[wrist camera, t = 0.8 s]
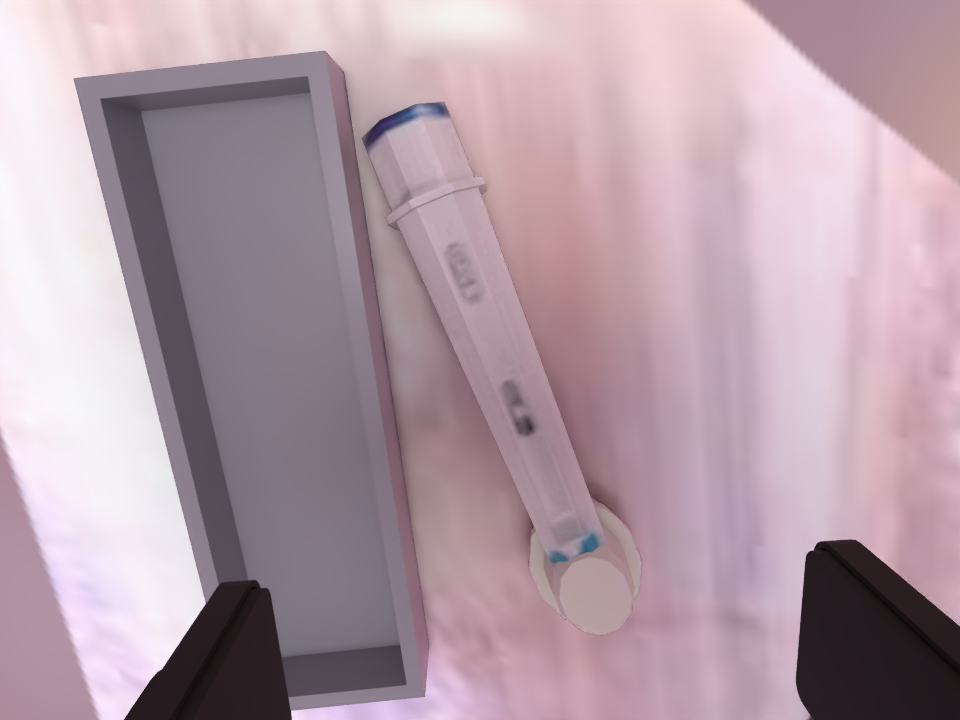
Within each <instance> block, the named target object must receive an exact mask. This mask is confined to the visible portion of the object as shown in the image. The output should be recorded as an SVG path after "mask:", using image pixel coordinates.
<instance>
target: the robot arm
mask: <svg viewBox="0 0 960 720" xmlns="http://www.w3.org/2000/svg"><path fill="white" fill-rule="evenodd" d="M796 686H797V690H798V694H799V697H800V699H801V701H802V703H803V705H804V706H805V708H806V709H807V711H808V712H809V714H810V715H811V717H812V718H813V720H960V626H959V625H957V624H956V623H955V622H954V621H953V620H951V619H950V618H949V617H948V616H947V615H945V614H944V613H943V612H942V611H941V610H940V609H938V608H937V607H936V606H935V605H934V604H932V603H931V602H930V601H929V600H928V599H926V598H925V597H924V596H923V595H922V594H920V593H919V592H918V591H917V590H916V589H915V588H913V587H912V586H911V585H910V584H909V583H907V582H906V581H905V580H904V579H903V578H901V577H900V576H899V575H898V574H897V573H896V572H894V571H893V570H892V569H891V568H890V567H888V566H887V565H886V564H885V563H884V562H882V561H881V560H880V559H879V558H878V557H876V556H875V555H874V554H873V553H872V552H871V551H869V550H868V549H867V548H866V547H865V546H863V545H862V544H861V543H860V542H858V541H856V540H836V541H821V542H819V543H817V544H816V546H815V548H814V551H810V552H808V554H807V555H806V561H805V573H804V585H803V598H802V610H801V622H800V635H799V647H798V659H797V671H796ZM124 720H292V717H291V709H290V704H289V698H288V692H287V686H286V680H285V674H284V669H283V663H282V657H281V651H280V645H279V639H278V634H277V628H276V622H275V616H274V610H273V604H272V599H271V594H270V591H269V589H268V588H260V585H259V583H258V581H256V580H244V581H229V582H222V583H220V584H219V586H218V587H217V588H216V590H215V591H214V593H213V594H212V596H211V597H210V599H209V600H208V602H207V603H206V605H205V606H204V608H203V609H202V611H201V612H200V614H199V615H198V617H197V618H196V620H195V621H194V623H193V624H192V626H191V627H190V628H189V630H188V631H187V633H186V634H185V636H184V637H183V639H182V640H181V642H180V643H179V645H178V646H177V648H176V649H175V651H174V652H173V654H172V655H171V657H170V658H169V660H168V661H167V663H166V664H165V666H164V667H163V669H162V670H160V671H159V672H157V673H156V674H155V676H154V677H153V678H152V679H151V680H150V682H149V683H148V685H147V686H146V688H145V689H144V691H143V692H142V694H141V695H140V697H139V698H138V699H137V701H136V702H135V704H134V705H133V707H132V708H131V710H130V711H129V713H128V714H127V716H126V717H125V719H124Z"/></svg>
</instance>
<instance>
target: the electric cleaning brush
mask: <svg viewBox="0 0 960 720" xmlns="http://www.w3.org/2000/svg"><path fill="white" fill-rule="evenodd" d="M362 140H363V142H364V145H365V147H366V150H367V152H368V155H369V157H370V159H371V162H372V164H373V167H374V169H375V171H376V174H377V176H378V179H379V181H380V184H381V186H382V188H383V191H384V193H385V196H386V198H387V200H388V203H389V205H390V208H391V210H392V213H391V214H389V215H388V216H386V220H387V222H388V225H390V226H391V227H393V228H395V229H400V231H401V233H402V235H403V238H404V240H405V242H406V244H407V247H408V249H409V251H410V253H411V255H412V258H413V260H414V262H415V264H416V266H417V269H418V271H419V273H420V275H421V278H422V280H423V282H424V284H425V286H426V289H427V291H428V293H429V295H430V297H431V300H432V302H433V304H434V306H435V308H436V311H437V313H438V315H439V317H440V320H441V322H442V324H443V326H444V328H445V331H446V333H447V335H448V337H449V339H450V342H451V344H452V346H453V348H454V350H455V353H456V355H457V357H458V359H459V362H460V364H461V366H462V368H463V370H464V373H465V375H466V377H467V379H468V381H469V384H470V386H471V388H472V390H473V393H474V395H475V397H476V399H477V401H478V404H479V406H480V408H481V410H482V412H483V415H484V417H485V419H486V421H487V423H488V426H489V428H490V430H491V432H492V435H493V437H494V439H495V441H496V443H497V446H498V448H499V450H500V452H501V454H502V457H503V459H504V461H505V463H506V466H507V468H508V470H509V472H510V474H511V477H512V479H513V481H514V483H515V485H516V488H517V490H518V492H519V494H520V496H521V499H522V501H523V503H524V505H525V508H526V510H527V512H528V514H529V516H530V519H531V521H532V523H533V525H534V527H533V529H532V530H531V535H530V548H529V561H528V563H529V569H530V572H531V574H532V576H533V579H534V581H535V584H536V586H537V588H538V591H539V593H540V596H541V598H542V599H543V600H544V601H545V602H546V603H547V604H548V605H550V606H551V607H552V608H553V609H554V610H555V611H556V612H558V613H559V614H560V615H561V616H562V617H563V618H564V619H565V620H569V621H570V622H571V623H572V624H574V625H575V626H576V627H577V628H578V629H580V630H581V631H583V632H588V633H592V634H597V635H601V636H602V635H605V634H608V633H610V632H613V631H616V630H619V629H620V627H621V626H622V624H623V623H624V622H625V620H626V619H627V618H628V616H629V615H630V613H631V611H632V609H633V601H634V599H635V598H636V597H637V595H638V594H639V589H640V579H641V569H642V560H641V558H640V555H639V552H638V550H637V547H636V545H635V542H634V540H633V537H632V535H631V532H630V530H629V528H628V526H627V525H626V524H625V523H624V522H623V521H621V520H620V519H619V518H618V517H617V516H616V515H615V514H614V513H613V512H611V511H610V510H609V509H608V508H607V507H606V506H605V505H604V504H601V503H598V502H597V501H596V500H595V499H594V498H591V497H590V494H589V491H588V488H587V486H586V483H585V480H584V477H583V475H582V472H581V469H580V466H579V464H578V461H577V458H576V455H575V453H574V450H573V447H572V444H571V442H570V439H569V436H568V433H567V431H566V428H565V425H564V422H563V420H562V417H561V414H560V411H559V409H558V406H557V403H556V400H555V397H554V395H553V392H552V389H551V386H550V384H549V381H548V378H547V375H546V373H545V370H544V367H543V364H542V362H541V359H540V356H539V353H538V351H537V348H536V345H535V342H534V340H533V337H532V334H531V331H530V329H529V326H528V323H527V320H526V318H525V315H524V312H523V309H522V307H521V304H520V301H519V298H518V296H517V293H516V290H515V287H514V285H513V282H512V279H511V276H510V274H509V271H508V268H507V265H506V263H505V260H504V257H503V254H502V251H501V249H500V246H499V243H498V240H497V238H496V235H495V232H494V229H493V227H492V224H491V221H490V218H489V216H488V213H487V210H486V207H485V205H484V202H483V199H482V196H481V194H482V193H484V192H486V183H485V181H484V178H483V176H480V177H475V178H474V175H473V173H472V170H471V168H470V165H469V163H468V160H467V158H466V155H465V153H464V150H463V148H462V145H461V143H460V140H459V138H458V135H457V133H456V130H455V128H454V125H453V123H452V120H451V117H450V115H449V112H448V110H447V107H446V105H445V102H437V103H425V104H416V105H413V106H411V107H409V108H406V109H404V110H402V111H400V112H397V113H395V114H393V115H391V116H388V117H386V118H384V119H381V120H380V121H379V122H378V123H377V124H376V125H375V126H374V127H373V128H372V129H370V130H369V131H368V132H367V133H366V134H365V135H364V136H363V137H362Z"/></svg>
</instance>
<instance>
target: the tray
mask: <svg viewBox="0 0 960 720" xmlns="http://www.w3.org/2000/svg"><path fill="white" fill-rule="evenodd" d="M74 82H75V86H76V90H77V94H78V98H79V102H80V106H81V110H82V114H83V118H84V122H85V126H86V130H87V134H88V138H89V142H90V146H91V150H92V154H93V158H94V162H95V166H96V169H97V173H98V177H99V181H100V185H101V189H102V193H103V197H104V201H105V205H106V209H107V213H108V217H109V221H110V225H111V229H112V233H113V237H114V241H115V245H116V249H117V253H118V257H119V261H120V265H121V269H122V272H123V276H124V280H125V284H126V288H127V292H128V296H129V300H130V304H131V308H132V312H133V316H134V320H135V324H136V328H137V332H138V336H139V340H140V344H141V348H142V352H143V356H144V360H145V364H146V368H147V372H148V375H149V379H150V383H151V387H152V391H153V395H154V399H155V403H156V407H157V411H158V415H159V419H160V423H161V427H162V431H163V435H164V439H165V443H166V447H167V451H168V455H169V459H170V463H171V467H172V471H173V475H174V478H175V482H176V486H177V490H178V494H179V498H180V502H181V506H182V510H183V514H184V518H185V522H186V526H187V530H188V534H189V538H190V542H191V546H192V550H193V554H194V558H195V562H196V566H197V570H198V574H199V577H200V581H201V585H202V589H203V593H204V597H205V601H206V603H207V602H208V600H209V599H210V597H211V596H212V594H213V593H214V591H215V590H216V588H217V587H218V586H219V584H220V583H222V582H229V581H244V580H256V581H258V583H259V585H260V588H268V589H269V591H270V594H271V599H272V604H273V610H274V616H275V622H276V628H277V634H278V639H279V645H280V651H281V657H282V663H283V669H284V674H285V680H286V686H287V692H288V698H289V704H290V709H291V711H292V710H302V709H311V708H321V707H330V706H340V705H350V704H359V703H369V702H379V701H388V700H398V699H407V698H417V697H425V689H426V678H427V667H428V655H429V642H428V635H427V628H426V621H425V615H424V608H423V601H422V594H421V588H420V581H419V574H418V567H417V561H416V554H415V547H414V541H413V534H412V527H411V520H410V514H409V507H408V500H407V493H406V487H405V480H404V473H403V466H402V460H401V453H400V446H399V440H398V433H397V426H396V419H395V413H394V406H393V399H392V392H391V386H390V379H389V372H388V365H387V359H386V352H385V345H384V338H383V332H382V325H381V318H380V312H379V305H378V298H377V291H376V285H375V278H374V271H373V264H372V258H371V251H370V244H369V237H368V231H367V224H366V217H365V211H364V204H363V197H362V190H361V184H360V177H359V170H358V163H357V157H356V150H355V143H354V136H353V130H352V123H351V116H350V110H349V103H348V96H347V89H346V83H345V76H344V72H343V71H342V69H341V68H340V67H339V66H338V65H337V64H336V63H335V61H334V60H333V59H332V58H331V57H330V56H329V55H328V53H327V52H326V51H318V52H309V53H300V54H291V55H282V56H273V57H264V58H254V59H245V60H236V61H227V62H218V63H209V64H200V65H191V66H182V67H173V68H164V69H155V70H146V71H136V72H127V73H118V74H109V75H100V76H91V77H82V78H74Z"/></svg>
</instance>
